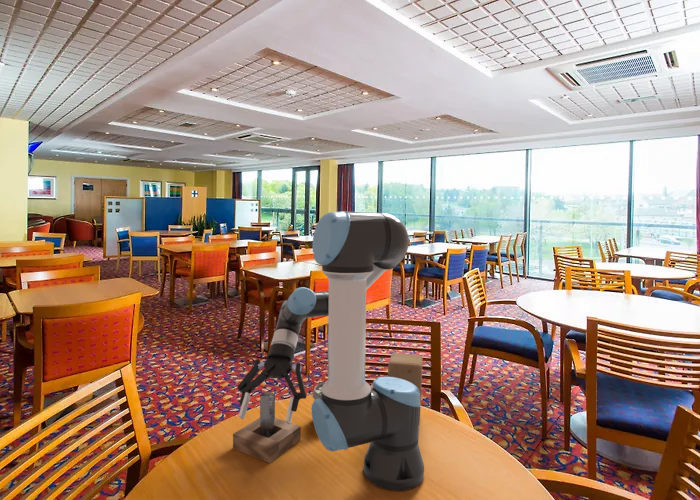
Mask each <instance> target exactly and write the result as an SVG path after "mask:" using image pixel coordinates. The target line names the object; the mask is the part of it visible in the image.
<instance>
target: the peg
mask: <svg viewBox="0 0 700 500" xmlns="http://www.w3.org/2000/svg"><path fill="white" fill-rule="evenodd" d="M259 406H260V407H259V418H260V435H262V436H264V437H267V438H270V437H271V436H272V435H274V434H275V418H276V393H274V392H272V391H266V392H262V393H261V394H260V395H259Z"/></svg>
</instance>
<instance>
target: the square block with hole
mask: <svg viewBox="0 0 700 500" xmlns="http://www.w3.org/2000/svg"><path fill="white" fill-rule="evenodd" d="M299 441H301V425H297V424H295V423H293V422H291V423H290V425H289V424H287V423H286V421H285V420H284V419H281V418H280V419H279V418H278V417H275V434H274V435H272V436H271V437H270V438H267V437H264V436H262V435H260V417H259V418H257V419H255V420H253V421H252V422H250V423H248V424H247V425H245V426H244V427H242V428H240V429H239V430H237V431H235V432H234V433H233V434H232V449H234V448H235V450H237V449H238V450H237V451H239V450H240V452H241V453H244V452H245V453H244V454H247V455H249V456H252V457H254V458H256V459H259V460H262V461H264V462H267V463H268V464H271V463H272V462H274V461H275V460H276V459H277V458H279V457H280V456H281V455H283V454H284V453H285V452H286V451H288V450H290V448H292V447H293V446H294V445H295V444H297V443H298V442H299Z"/></svg>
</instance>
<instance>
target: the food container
mask: <svg viewBox="0 0 700 500" xmlns="http://www.w3.org/2000/svg"><path fill="white" fill-rule="evenodd" d="M326 382H327V381H324V382H320V383H318V384H316V385H315V386H314V389H313V392H312V398H313V399H314V400H316V399H318V398H320V399H321V388H322V386H323V385H324V384H325V383H326Z"/></svg>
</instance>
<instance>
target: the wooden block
mask: <svg viewBox="0 0 700 500" xmlns="http://www.w3.org/2000/svg"><path fill="white" fill-rule="evenodd" d="M423 359H424V358H423V356H422V355H420V354H412V353H411V354H410V353H402V352H401V353H400V352H392V353H391V355H390V358H389V360H388V364H387V365H388V366H387V368H388V369H387V377H395V378H400V379H403V380H406V381H409V382H411V383H412V384H414V385H415V386H416V387H417V388H418V390H419V392H420V404H422V403H421V402H422V382H423V379H422V378H423ZM421 406H422V405H421ZM421 406H420V410H421V408H422V407H421ZM420 419H421V412H420V413H419V424H420V422H421V420H420Z"/></svg>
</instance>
